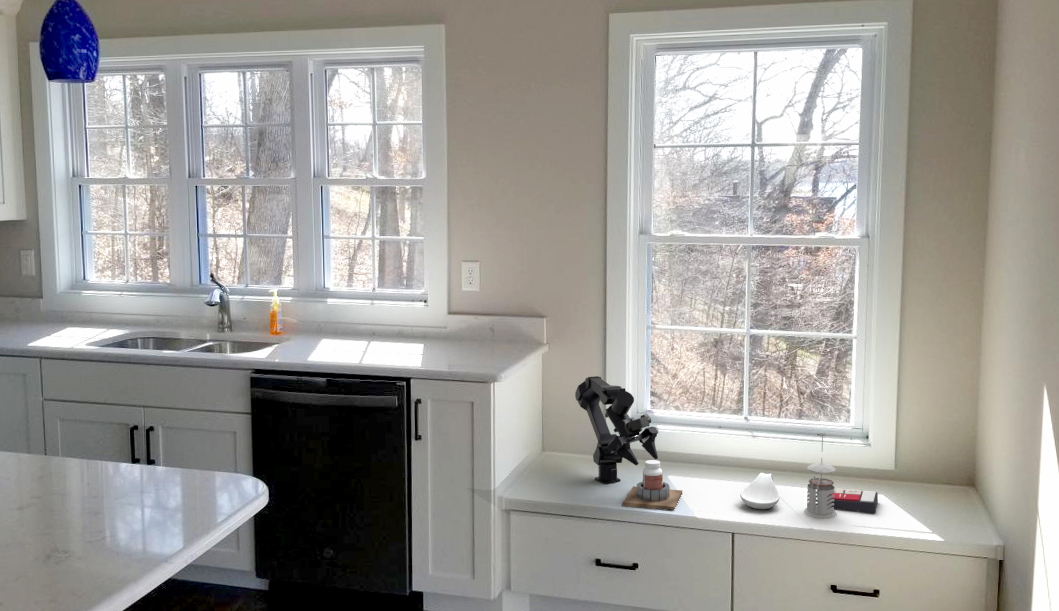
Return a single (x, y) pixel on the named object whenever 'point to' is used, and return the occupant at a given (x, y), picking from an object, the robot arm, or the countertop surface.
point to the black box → (855, 500)
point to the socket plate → (666, 504)
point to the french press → (820, 491)
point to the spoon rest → (761, 492)
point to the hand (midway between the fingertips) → (647, 461)
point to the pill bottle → (652, 475)
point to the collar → (653, 493)
